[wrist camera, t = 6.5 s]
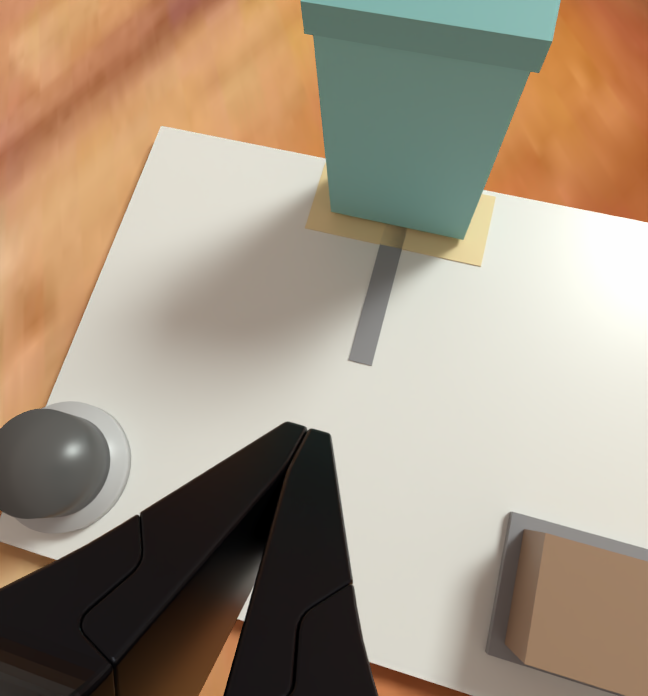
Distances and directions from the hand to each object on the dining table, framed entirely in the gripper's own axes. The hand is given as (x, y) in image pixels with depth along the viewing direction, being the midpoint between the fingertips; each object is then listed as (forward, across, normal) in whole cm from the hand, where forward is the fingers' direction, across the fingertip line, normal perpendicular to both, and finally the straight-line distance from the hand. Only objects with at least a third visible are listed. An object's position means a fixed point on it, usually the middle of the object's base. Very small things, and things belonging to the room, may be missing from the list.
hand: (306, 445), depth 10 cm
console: (+12, 0, +6) cm, 14 cm away
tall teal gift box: (+17, 0, 0) cm, 17 cm away
